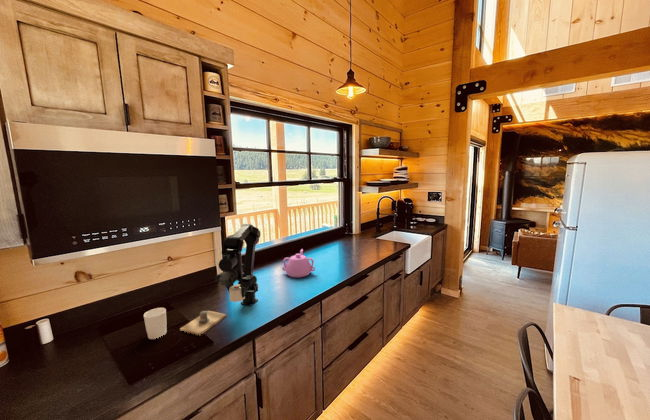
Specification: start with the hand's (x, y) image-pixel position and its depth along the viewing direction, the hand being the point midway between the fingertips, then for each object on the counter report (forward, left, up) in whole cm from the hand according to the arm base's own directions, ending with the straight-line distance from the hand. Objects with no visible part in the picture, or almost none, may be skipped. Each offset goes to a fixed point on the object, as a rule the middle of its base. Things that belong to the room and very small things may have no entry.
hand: (237, 296), depth 122 cm
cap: (0, 0, -1) cm, 1 cm away
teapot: (-59, +2, -11) cm, 60 cm away
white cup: (+22, -25, -11) cm, 35 cm away
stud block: (+9, -12, -11) cm, 18 cm away
